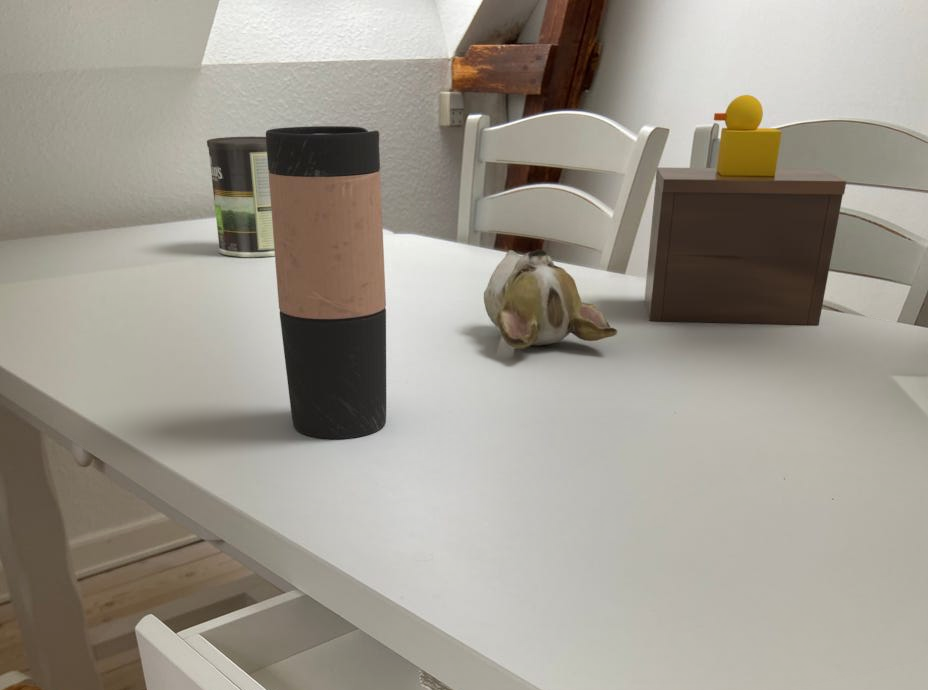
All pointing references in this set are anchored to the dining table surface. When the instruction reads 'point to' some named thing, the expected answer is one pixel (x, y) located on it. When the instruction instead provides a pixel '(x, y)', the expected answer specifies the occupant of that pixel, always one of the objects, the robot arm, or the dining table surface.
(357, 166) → the travel mug
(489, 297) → the ceramic sculpture
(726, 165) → the duck
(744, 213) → the wooden nightstand cabinet
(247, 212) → the coffee can
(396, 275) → the dining table surface
